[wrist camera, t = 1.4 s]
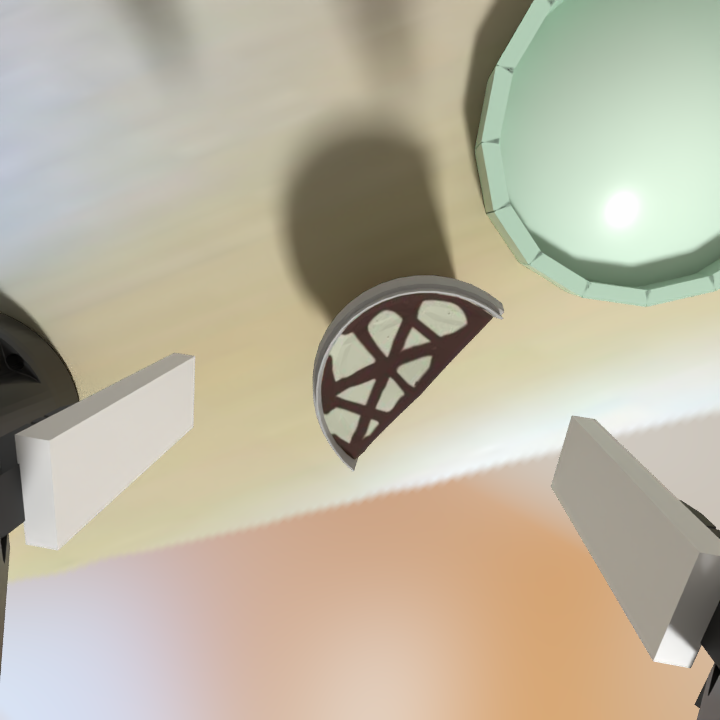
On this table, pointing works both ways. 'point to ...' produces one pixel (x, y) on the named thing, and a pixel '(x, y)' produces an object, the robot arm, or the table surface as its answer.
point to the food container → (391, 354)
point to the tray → (608, 147)
